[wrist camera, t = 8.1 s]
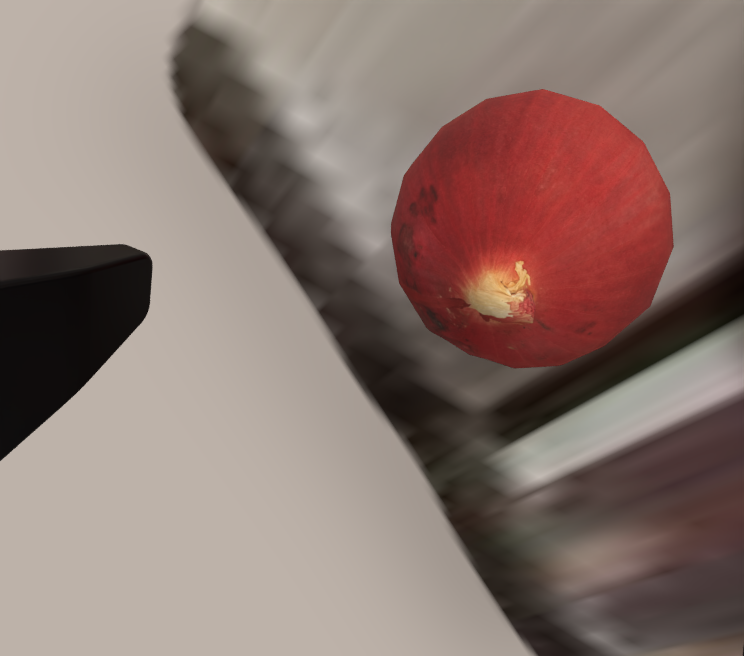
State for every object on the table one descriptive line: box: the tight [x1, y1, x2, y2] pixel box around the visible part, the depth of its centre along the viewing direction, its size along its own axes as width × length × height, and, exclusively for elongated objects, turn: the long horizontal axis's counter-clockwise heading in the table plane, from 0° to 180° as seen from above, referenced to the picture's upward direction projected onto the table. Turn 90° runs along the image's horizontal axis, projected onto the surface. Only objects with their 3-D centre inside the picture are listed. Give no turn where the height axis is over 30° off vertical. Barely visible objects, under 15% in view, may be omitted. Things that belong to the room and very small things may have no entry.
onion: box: [391, 89, 674, 368], centre depth 15 cm, size 6×6×8 cm
